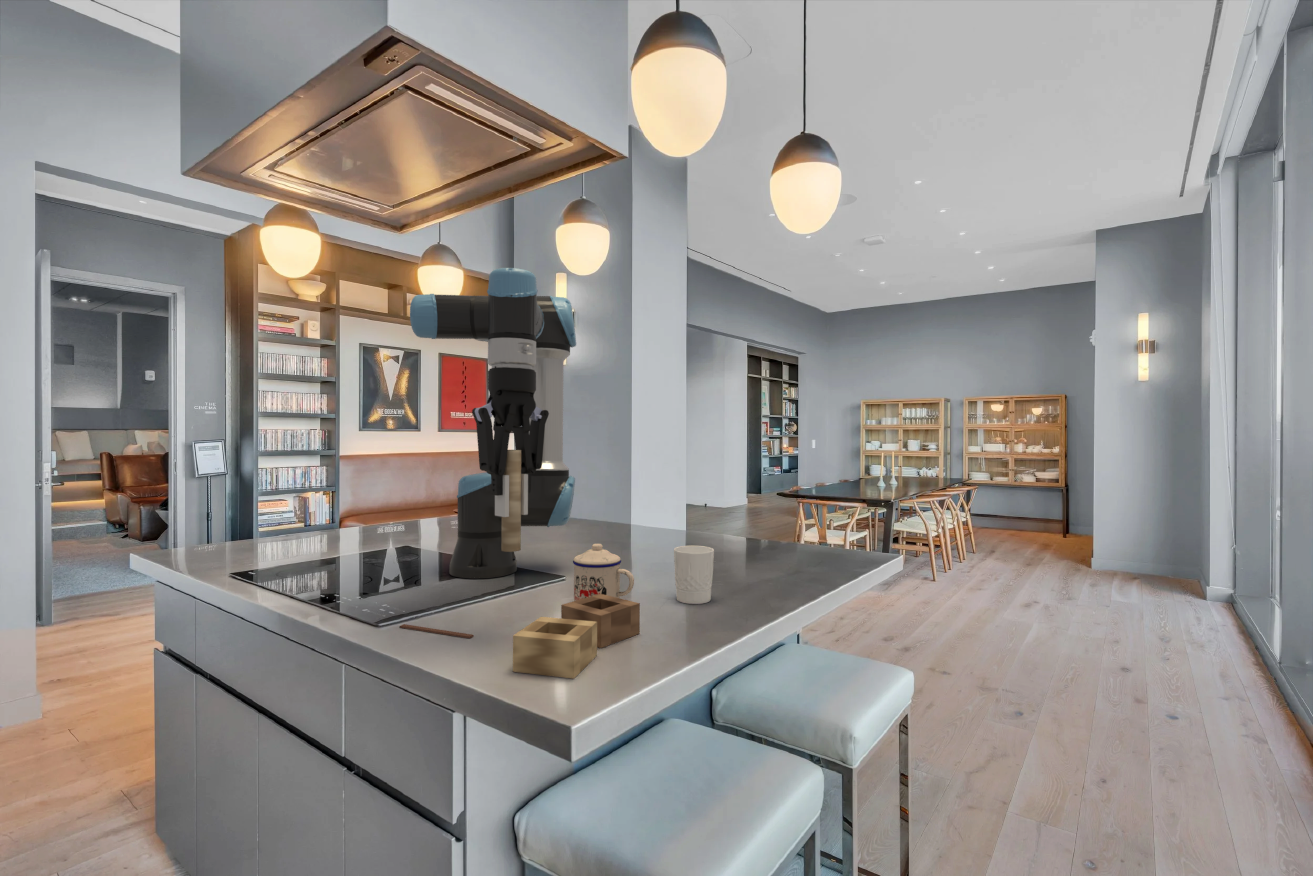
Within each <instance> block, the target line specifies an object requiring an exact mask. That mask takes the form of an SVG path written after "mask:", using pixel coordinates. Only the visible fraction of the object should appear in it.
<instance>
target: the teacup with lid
mask: <svg viewBox="0 0 1313 876" xmlns="http://www.w3.org/2000/svg"><path fill="white" fill-rule="evenodd" d="M603 547H604V546H603V545H602V543H593V544H592V545H591V549H588V550H585V552H583V553H581V554H578V555H576V556H574V558H573V559H572V564H573V567H574V568H573V579H574V580H573V601H577V600H580V599H584V598H587V597H591V596H594V595H598V594H604V595H608V596H612V597H616V598H620V597H623V596H627V595H629V594H630V593H631V592H632V590H633V588H634V586H635V577H634V575H633V572H631V571H629V570H627V569H625V568H621V563H622V560H621V557H620V556H619V555H617V554H615V553H611V552H610V551H608V550H607V549H604V548H603ZM621 574H623V575H625V576H627V578H628V587H627V589H626V590H625V591H620V588H621V587H620V581H621V579H620V578H621V577H620V576H621ZM620 599H621V598H620Z"/></svg>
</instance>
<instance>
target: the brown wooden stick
mask: <svg viewBox="0 0 1313 876" xmlns="http://www.w3.org/2000/svg"><path fill="white" fill-rule="evenodd" d="M399 628H400V629H405V630H406V629H407V630H413V631H419V632H426V633H432V634H439V635H445V636H453V637H458V638H463V639H465V638H466V639H472V638H474V636H475V635H474V634H472V633H464V632H459V631H451V630H445V629H440V628H439V629H437V628H434V627H433V628H432V627H426V626H425V627H424V626H419V625H418V626H417V625H412V624H407V623H406V624H405V623H404V624H401V625H399Z"/></svg>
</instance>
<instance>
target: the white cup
mask: <svg viewBox="0 0 1313 876" xmlns="http://www.w3.org/2000/svg"><path fill="white" fill-rule="evenodd" d="M714 556H715V549H714V548H713V547H709V546H704V545H682V546H676V547H674V548H673V557H674V560H673V562H674V579H675V582H674V583H675V588H676V590H675V591H676V600H677V601H678V602H679V603H684V604H690V605H702V604H707V603H708V602H709V603H710V601H711V600H712V597H711V596H712V587H713V575H714V574H713V573H714V559H715V558H714Z"/></svg>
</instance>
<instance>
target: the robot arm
mask: <svg viewBox="0 0 1313 876" xmlns="http://www.w3.org/2000/svg"><path fill="white" fill-rule="evenodd" d="M487 286H488V289H487V290H486V292H487V295H465V294H462V295H461V294H459V295H458V294H434V293H428V294H416V295H415V296H414V297H412V300H411V302H410V305H409V319H410V326H411V329H412V332H413V334H414V335H415V336H416V337H418V338H420V339H421V338H422V339H431V340H438V339H439V340H446V339H447V340H451V339H452V340H474V341H479V342H486V343H487V365H489V366H490V367H491V368H489V369H488V371H487V390H488V393H489V395H488V398H487V400H486V404H484V405H482V406H480V407H474V408H473V409H472V410H471V414H472V417H473V418H474V422H475V424H476V438H477V439H476V440H477V449H478V450H477V451H478V463H479V470H480V471H483V472H479V473H473V474H468V475H464V476H462V477H461V478H459V481H458V483H457V484H458V485H457V486H458V487H457V495H456V498H457V540H456V544H455V546H454V549H453V553H452V555H451V558H450V561H449V574H450V575H451V576H452V577H455V578H461V579H491V578H499V577H505V576H508V575H511V574H514V573H516V572H517V570H518V568H517V567H518V564H517V563H518V562H517V561H518V560H517V558H516V555H515V551H514V552H505V551H502V550H501V544H502V517H509V475H503V474H504V473H505V467H506V459H507V451H508V450H509V442H510V435H511V433H513V437H514V438H513V439H514V446H515V450H521V527H547V528H550V527H561V526H564V525H567V523H568V522H569V521H570V517H571V513H572V507H573V500H574V494H575V485H576V484H575V483H576V478H575V477H574V476H572V475H570V468H569V467H568V466H567V465H566V464H565V463H564V461H563V459H564V458H563V457H564V456H563V455H564V454H563V453H564V452H563V451H564V447H563V446H564V442H563V441H564V438H563V437H564V362H565V360H566V359H567V358H569V356H570V355H571V348H575V347H576V346H577V337H576V327H575V320H574V315H573V313H574V312H573V307H572V303H571V301H570V300H569V299H568V298H567V297H560V296H553V295H537V294H538V289H537V288H538V287H537V277H536V275H535V273H533V272H532V271H530V270H527V269H523V268H518V267H500V268H499V267H498V268H496V269H493V270H492V271H491V272H490V273H489V275H488V285H487ZM492 418H493V419H494V420H493V422H492Z"/></svg>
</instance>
